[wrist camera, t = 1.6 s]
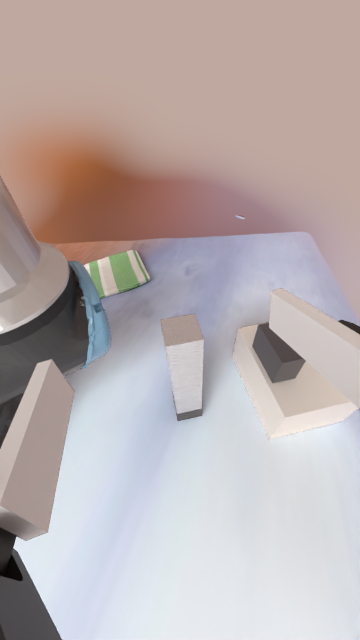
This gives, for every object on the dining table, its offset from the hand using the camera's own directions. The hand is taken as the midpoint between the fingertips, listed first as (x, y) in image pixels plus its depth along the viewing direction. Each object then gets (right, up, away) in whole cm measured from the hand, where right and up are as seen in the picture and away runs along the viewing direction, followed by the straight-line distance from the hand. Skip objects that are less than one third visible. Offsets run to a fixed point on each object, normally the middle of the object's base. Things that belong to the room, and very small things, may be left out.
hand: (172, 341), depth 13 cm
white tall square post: (+2, -12, +21) cm, 25 cm away
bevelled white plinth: (+17, -9, +23) cm, 30 cm away
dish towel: (-20, +12, +48) cm, 54 cm away
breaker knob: (+13, -4, +16) cm, 21 cm away
